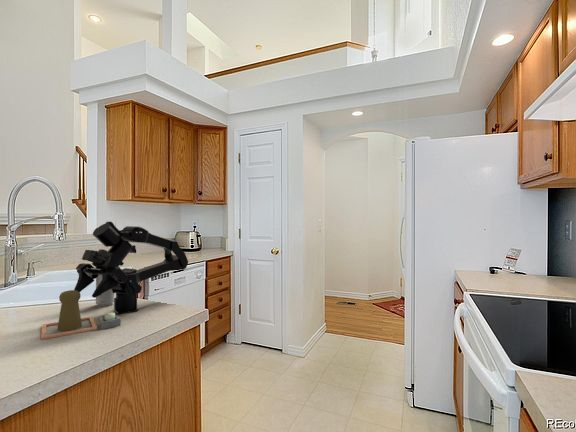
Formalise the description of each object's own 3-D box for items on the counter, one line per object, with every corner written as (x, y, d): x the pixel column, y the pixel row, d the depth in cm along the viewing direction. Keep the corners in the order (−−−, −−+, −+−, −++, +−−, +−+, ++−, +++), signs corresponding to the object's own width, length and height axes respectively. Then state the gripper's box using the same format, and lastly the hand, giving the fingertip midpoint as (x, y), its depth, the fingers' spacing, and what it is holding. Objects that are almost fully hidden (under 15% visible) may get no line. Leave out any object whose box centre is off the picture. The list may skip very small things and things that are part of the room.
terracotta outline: (92, 318, 103) (92, 316, 103) (97, 329, 93) (97, 327, 93) (42, 326, 95) (42, 324, 95) (41, 339, 85) (41, 337, 85)
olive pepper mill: (82, 328, 93) (82, 291, 93) (56, 332, 90) (57, 294, 90) (81, 323, 98) (81, 287, 98) (57, 326, 95) (57, 290, 95)
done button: (114, 319, 98) (114, 312, 98) (115, 322, 96) (115, 314, 96) (103, 321, 97) (104, 313, 97) (105, 323, 94) (105, 315, 94)
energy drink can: (94, 304, 119) (94, 264, 119) (111, 301, 123) (112, 263, 123) (97, 307, 114) (98, 266, 114) (116, 304, 118) (116, 265, 118)
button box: (117, 321, 100) (117, 314, 100) (120, 325, 96) (120, 319, 96) (99, 324, 97) (99, 317, 97) (101, 329, 93) (101, 322, 93)
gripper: (81, 239, 106) (45, 278, 96) (119, 241, 98) (83, 283, 88) (103, 259, 113) (72, 297, 103) (140, 262, 106) (110, 304, 96)
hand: (83, 295), depth 98 cm, fingers open, 9 cm apart
